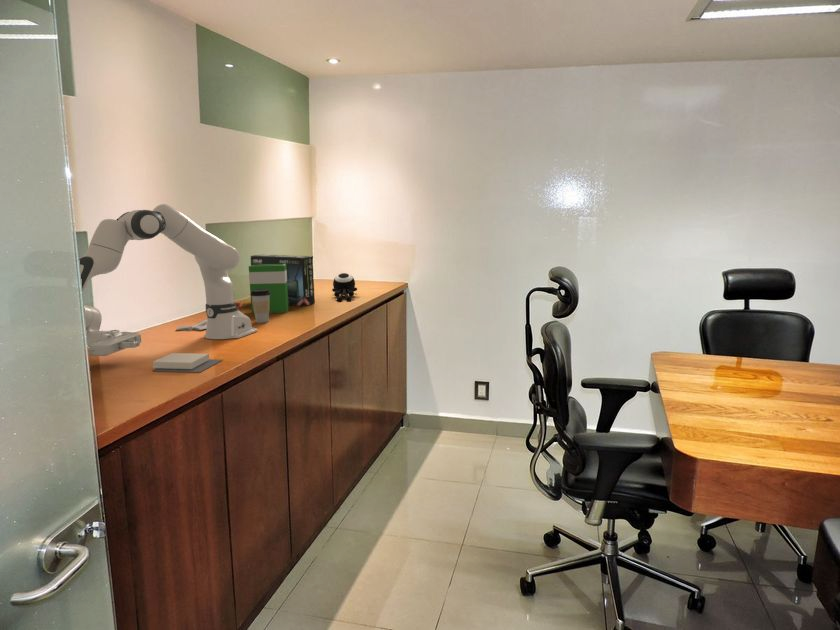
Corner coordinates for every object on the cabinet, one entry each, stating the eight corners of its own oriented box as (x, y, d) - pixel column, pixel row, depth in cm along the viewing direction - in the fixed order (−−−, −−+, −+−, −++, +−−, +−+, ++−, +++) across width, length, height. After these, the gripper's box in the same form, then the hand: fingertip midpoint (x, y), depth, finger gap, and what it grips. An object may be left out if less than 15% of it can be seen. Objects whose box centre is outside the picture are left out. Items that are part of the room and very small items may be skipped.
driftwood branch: (202, 319, 296) (202, 314, 295) (230, 319, 295) (230, 314, 294) (173, 332, 266) (172, 327, 266) (203, 332, 265) (203, 327, 265)
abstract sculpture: (329, 291, 334) (330, 265, 362) (331, 320, 344) (332, 293, 372) (357, 290, 336) (356, 264, 363) (358, 319, 346) (357, 292, 373)
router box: (251, 303, 339) (248, 255, 334) (264, 300, 349) (261, 253, 344) (305, 306, 325) (302, 256, 320) (316, 303, 335) (314, 255, 330)
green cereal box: (251, 313, 308) (248, 266, 303) (254, 310, 315) (251, 264, 310) (286, 312, 309) (284, 265, 304) (288, 309, 316) (286, 263, 312)
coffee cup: (257, 324, 278) (255, 292, 275) (248, 321, 285) (246, 290, 282) (276, 321, 284) (274, 290, 281) (266, 319, 291) (264, 288, 288)
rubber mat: (152, 371, 202) (152, 370, 202) (178, 359, 217) (178, 358, 217) (199, 372, 199) (199, 371, 199) (222, 360, 215) (222, 359, 215)
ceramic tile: (152, 361, 203) (191, 362, 201) (172, 353, 215) (208, 353, 213) (153, 368, 204) (191, 369, 202) (172, 359, 216) (209, 360, 213)
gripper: (79, 341, 201) (117, 342, 199) (118, 328, 221) (153, 329, 219) (81, 359, 202) (119, 360, 200) (120, 345, 222) (154, 346, 220)
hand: (137, 344), depth 210 cm, fingers closed
